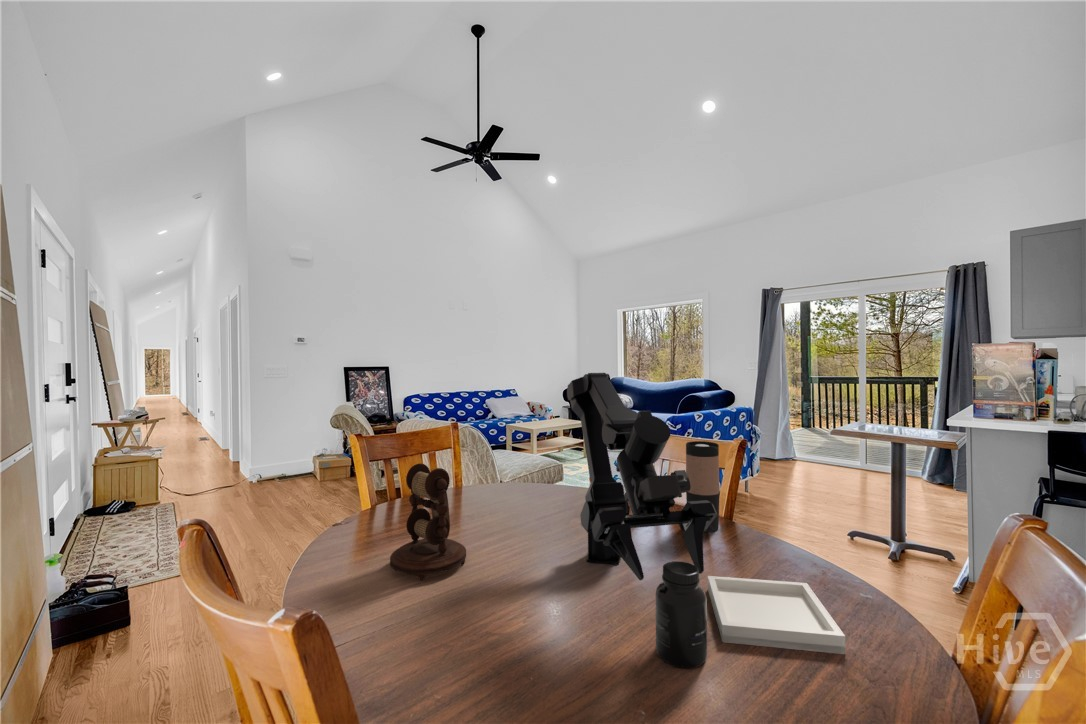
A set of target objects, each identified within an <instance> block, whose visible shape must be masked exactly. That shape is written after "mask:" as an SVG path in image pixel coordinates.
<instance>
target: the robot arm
mask: <svg viewBox="0 0 1086 724" xmlns="http://www.w3.org/2000/svg"><path fill="white" fill-rule="evenodd" d="M566 388H567V389H566V398H567V400H568V401H569V402H570V406H571V411H572V412H574V414H576V416H577V417H578V418H579V419H580V424H581V430H582V436H583V443H584V449H585V454H586V460H587V461H586V462H587V467H588V474H589V481H590V484H589V486H588V489H587V492H586V494H585V496H584V498H585V502H584V505H583V506H582V509H581V512H580V514H579V515H580V525H581V526H582V527H583V530H585V531H586V533H587V557H586V562H588V563H599V564H600V563H601V564H613V565H614V564H615V565H619V564H620V561H621V560H620V559H622V560H623V562H624V563H625V564H626V565H627V566H628V568H629V569H630V570H631V571H632V573H633V574H634V575H635V576H636V578H637V580H639V581H643V580H644V578H645V576H644V572H643V568H642V564H641V560H640V558H639V555H638V553H637V550H636V546H635V544H634V541H633V538H632V537H633V536H632V530H631V529H637V528H648V527H650V528H651V527H660V526H670V525H671V526H672V525H678V526H679V528H680V530H681V531H683V534H682V535H681V538H682V540H683V543H684V544H685V547H686V550H687V551H688V554H689V557H690V559H691V561H692V565H694V566H696V567H697V568H698V570H699V575H700V574H701V575H702V574H703V573H704V571H705V567H704V565H705V563H704V534H705V532H704V531H705V530H706V529H707V528H708V527H709V525H710V524H711V523H712V521H713V520H714V519H715V517H716V516H717V515H718V514H717V512H716V510H715V508H714V505H713V504H712V503H711V502H709V501H707V500H702V501H689V502H687V501H686V503H685V505H683V507H682V509H681V510H675V511H672V510H670V508H672V507H674V506H675V504H676V501H675V499H676V498H682V497H683V494H684V493H686V492H687V491H690V489H691V485H690V480H689V477H688V475H687V473H686V469H680V470H678V469H677V470H674V471H673V472H670V474H667V475H658V473H657V471H656V469H655V465H654V464H655V463H656V462H657V461H658V460H659V459H660V457H661V455H662V453H663V451H664V449H665V447H666V445H667V443H668V441H669V439H670V437H671V429H670V426H669V425H668V424H667V423H666V422H665V421H664V420H663V419H661V418H659V417H657V416H654V415H653V414H652V411H651V410H638V412H637V411H635V410H633V409H631V408H629V407H626V406H625V403H624V402H623V400H622V399H621V397H620V395H619V394H618V391H616V389H615V387H614V385H613V384H612V381H611V376H610V374H609V373H606V372H588V373H585V374H584V375H583V376H580V377H578V378H576V379H573V380H571V381H570V383H568V385H567V386H566ZM609 451H620V452H619V453H618V455H617V458H616V472H618V473H619V474H620V477H621V481H622V482H621V481H616V479H615V477H613V472H612V466H611V462H610V461H611V460H610V456H609ZM622 483H623V484H622ZM630 510H631V514H630Z"/></svg>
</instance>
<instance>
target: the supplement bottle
mask: <svg viewBox="0 0 1086 724" xmlns="http://www.w3.org/2000/svg"><path fill="white" fill-rule="evenodd" d="M661 579H662V582H661V583H659V584H658V585H657V587H656V588H655V649H656V651H655V652H656V653H657V655H658V657H659V658H660V659H662V660H663V661H664V662H665V663H667V664H669V665H671V666H674V667H676V668H682V669H694V668H698V667H699V666H701V665H703V664H704V663H705V662H706V659H707V655H708V654H707V653H708V623H707V622H708V613H707V612H708V611H707V610H708V606H707V605H708V604H707V603H708V599H707V595H706V593H705V591H704V589H703V588H702V587H701V586H699V585H700V574H699V570H698V568H697V567H696V566H694V564H693V563H690V562H686V561H680V560H679V561H678V560H676V561H675V560H674V561H668V562H665V563H664V564H663V565H662V575H661Z"/></svg>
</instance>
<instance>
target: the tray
mask: <svg viewBox="0 0 1086 724" xmlns="http://www.w3.org/2000/svg"><path fill="white" fill-rule="evenodd" d="M707 592H708V595H709V596H708V597H709V599H710V603H711V606H712V607H711V608H712V609H713V614H714V617H715V619H716V624H717V628H718V631H719V635H720V638H721V642H722V643H724V644H725V643H728V644H737V645H749V646H758V647H768V648H777V649H786V650H787V649H788V650H799V651H805V652H806V651H807V652H809V651H810V652H817V653H819V652H820V653H828V654H837V655H838V654H839V655H846V634H844V632H843V631H842V630H841V628H840V627H839V625H838V624H837V623H836V621H835V620H834V618H833V617H832V615H831V614H830V613H829V611H828V610H827V608H826V607H825V606H824V605H823V603H822V602H821V600H820V599H819V598H818V596H817V595H816V594H815V592H814V591H813V590H812V587H810V585H809V584H808V583H807V582H796V581H787V580H785V581H784V580H771V579H756V578H743V577H742V578H740V577H728V576H714V575H707Z"/></svg>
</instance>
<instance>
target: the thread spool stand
mask: <svg viewBox="0 0 1086 724" xmlns="http://www.w3.org/2000/svg"><path fill="white" fill-rule="evenodd" d="M450 481H451V480H450V474H449V473H448V471H447V470H446V469H444V468H442V467H437V468H434V469H432V470H430V468H429V466H427V465H426V464H425V463H415V464H414V465H412V466H411V467H410V468H409V469H408V471H407V473H406V478H405V482H406V483H405V484H406V486H407V488H408V489H409V490H410V493H411V494H410V496H409V499H408V501H409V503H410V505H411V507H412V509H411V511H410V512H411V513H410V514H409V516H408V517H407V520H406V524H405V525H406V531H407V533H408V534H409V535H410V536H411V538H410V539H411V541H410V542H408V543H405V544H403V545H401V546H400V547H399V548H397V549H395V550H394V551H393V552H392V553H391V554H390V557H389V565H390V567H391V569H392V570H394V571H395V572H397V573H400V574H404V575H411V576H418V579H419V581H420V582H423V581H424V579H425V576H426V575H434V574H439V573H444V572H447V571H449V570H452V569H454V568H456V567H458V566H460V565H461V566H464V565H465V562H466V559H467V549H466V547H465V545H463V544H462V543H460V542H458V541H457V540H453V539H449V536H450V530H451V520H450V519H451V517H450V507H449V505H450V504H449V498H448V493H447V491H448V489H449V487H450ZM418 506H423V507H424V508H418ZM427 509H430V510H431V514H430V512H429V511H428V510H427ZM431 515H432V518H431ZM419 538H421V539H419Z"/></svg>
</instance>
